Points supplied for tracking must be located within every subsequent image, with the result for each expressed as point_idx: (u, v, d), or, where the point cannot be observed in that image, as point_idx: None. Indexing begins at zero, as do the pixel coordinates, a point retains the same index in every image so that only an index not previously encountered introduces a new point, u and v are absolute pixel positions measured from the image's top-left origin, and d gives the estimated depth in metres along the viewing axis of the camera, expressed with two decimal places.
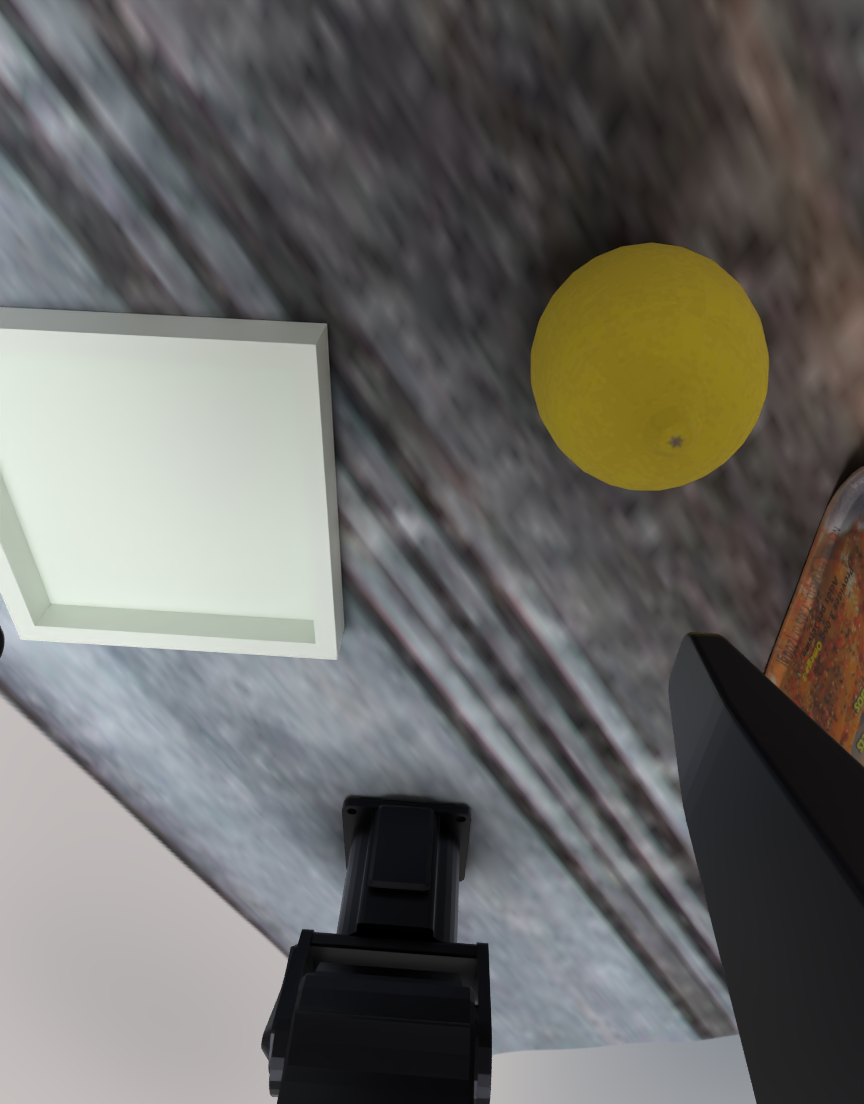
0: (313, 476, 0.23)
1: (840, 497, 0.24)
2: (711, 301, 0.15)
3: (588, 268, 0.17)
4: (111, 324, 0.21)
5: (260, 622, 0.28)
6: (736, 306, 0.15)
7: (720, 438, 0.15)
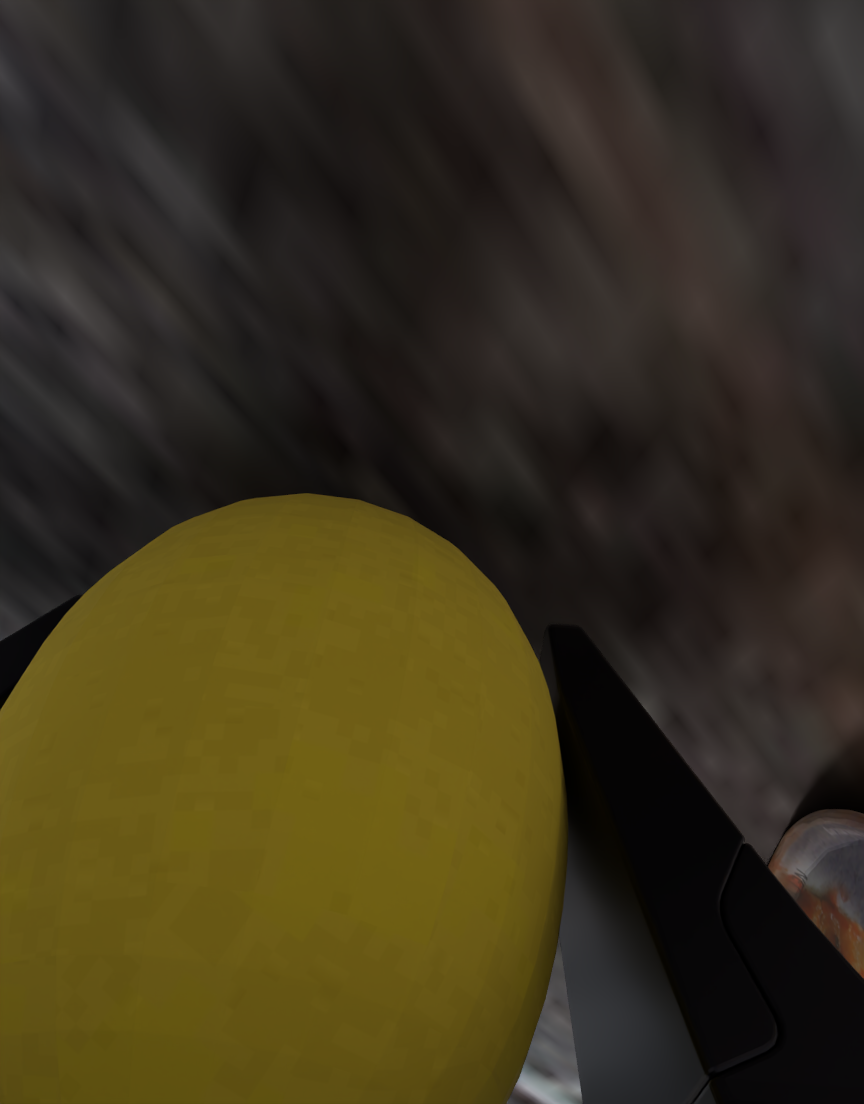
0: None
1: (806, 833, 0.13)
2: (286, 868, 0.04)
3: (92, 596, 0.06)
4: None
5: None
6: (392, 852, 0.05)
7: None
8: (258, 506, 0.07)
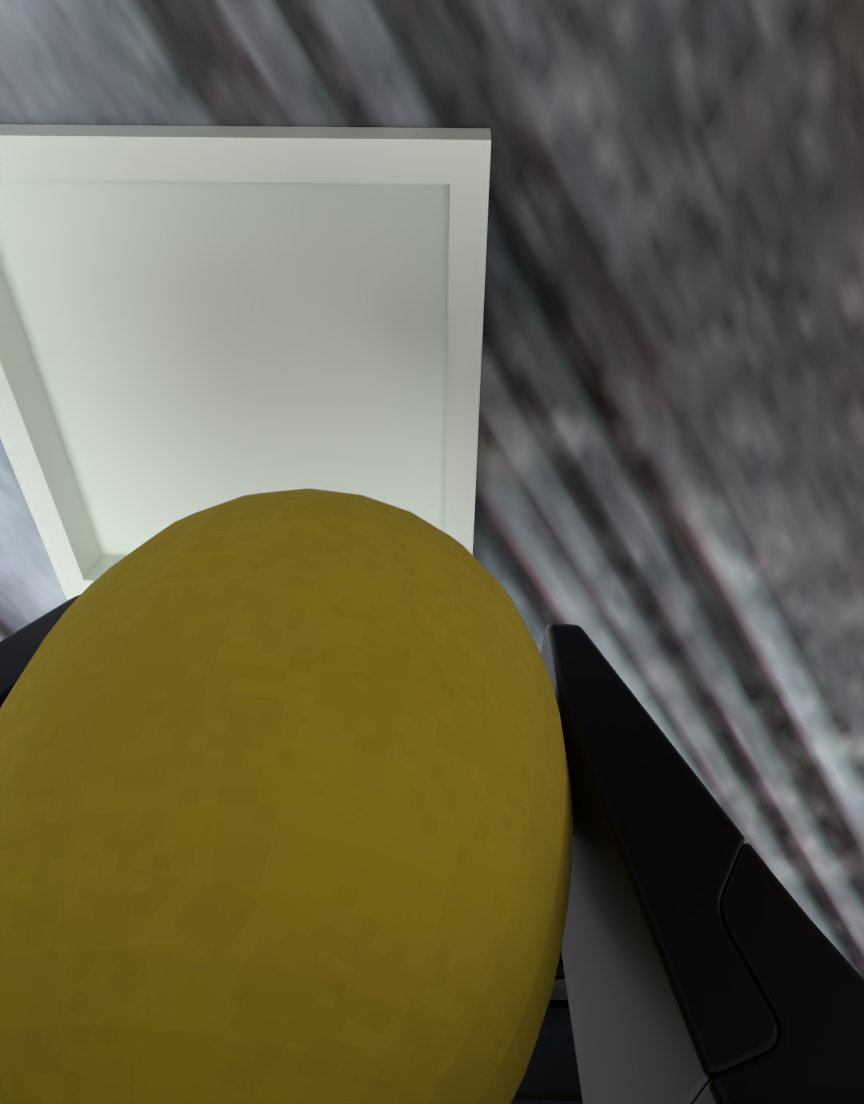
0: (466, 352, 0.17)
1: None
2: (291, 864, 0.04)
3: (94, 592, 0.06)
4: (193, 132, 0.15)
5: None
6: (398, 847, 0.04)
7: None
8: (261, 501, 0.07)
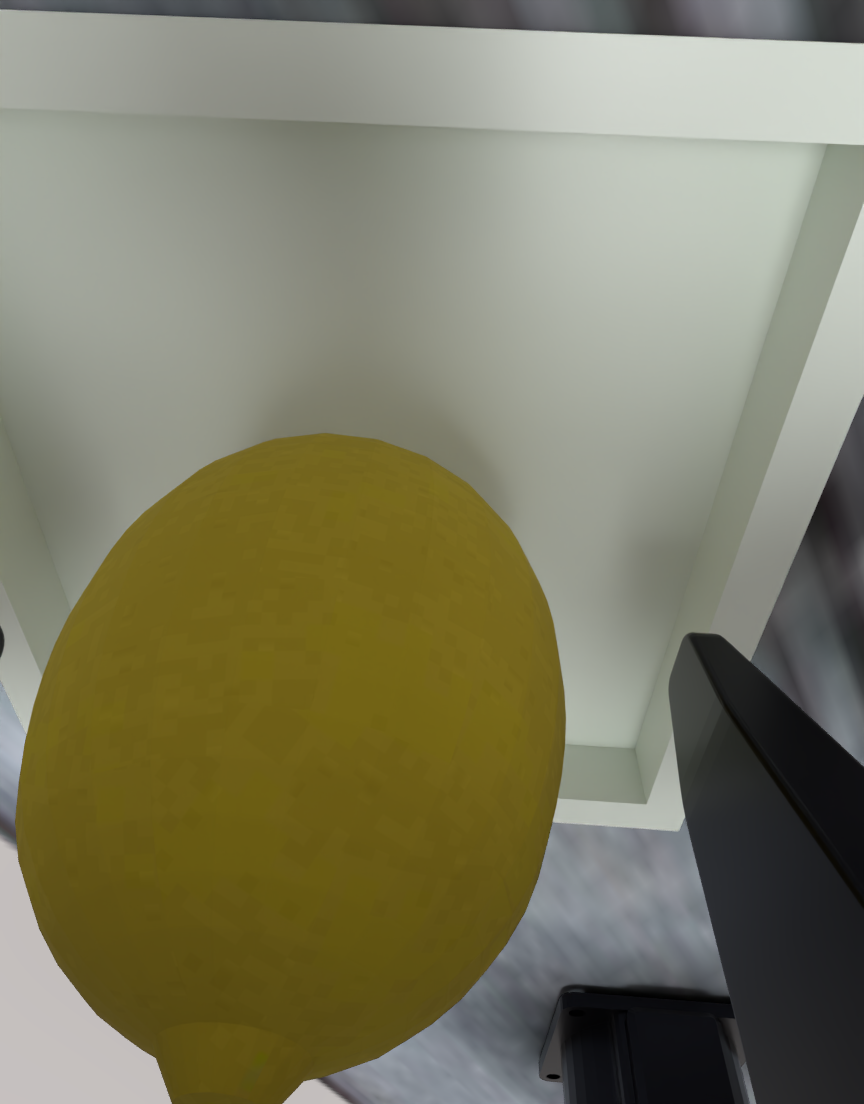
0: (804, 464, 0.09)
1: None
2: (334, 694, 0.05)
3: (151, 511, 0.07)
4: None
5: None
6: (421, 689, 0.05)
7: (385, 1040, 0.06)
8: (292, 439, 0.08)
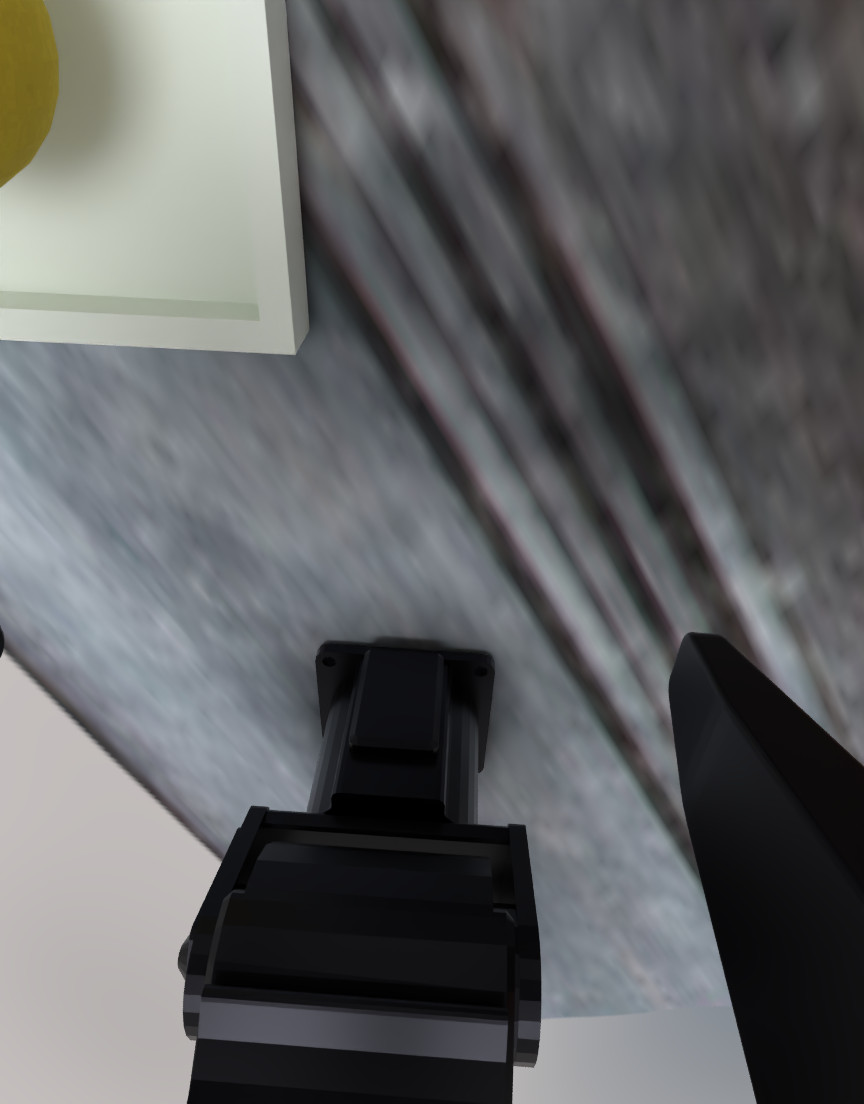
0: None
1: None
2: None
3: None
4: None
5: (176, 303, 0.18)
6: None
7: None
8: None
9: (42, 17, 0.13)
